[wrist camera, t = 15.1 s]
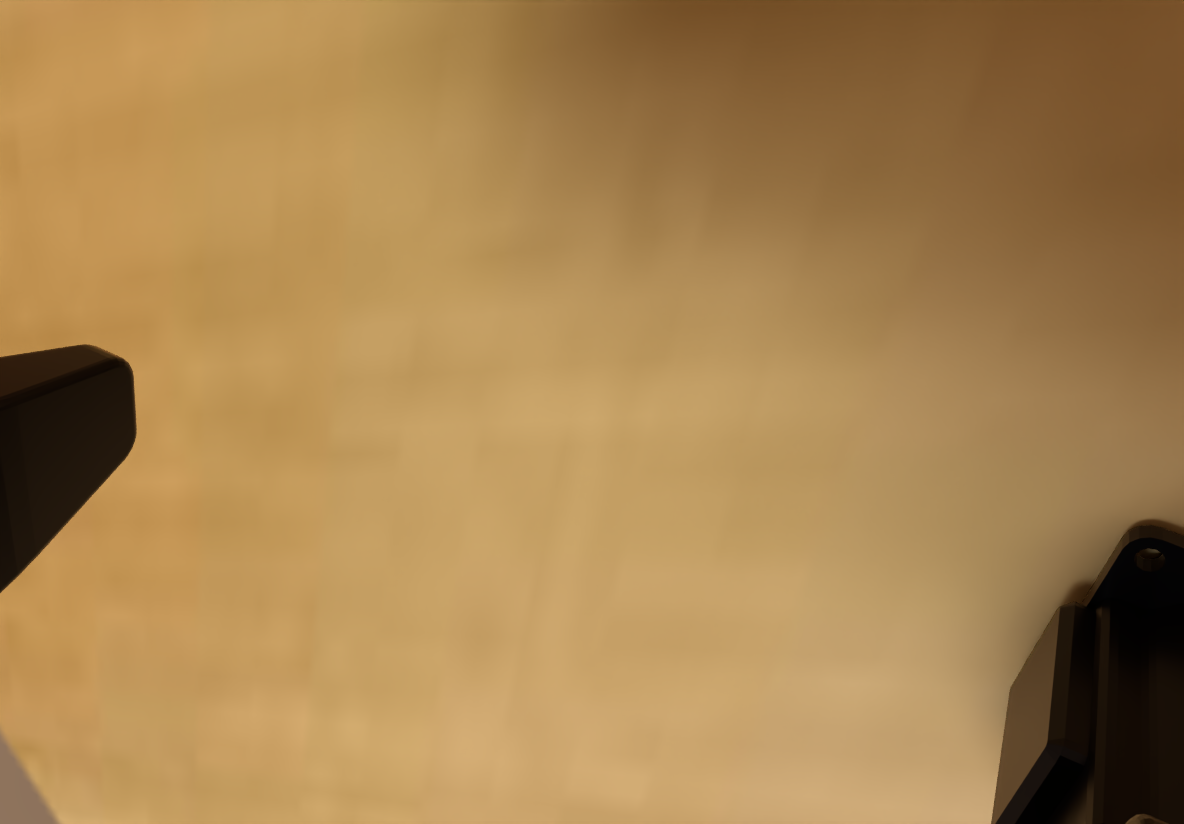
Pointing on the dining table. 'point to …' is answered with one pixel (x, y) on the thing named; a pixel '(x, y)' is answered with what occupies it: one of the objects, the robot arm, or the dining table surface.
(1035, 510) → the dining table surface
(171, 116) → the dining table surface
